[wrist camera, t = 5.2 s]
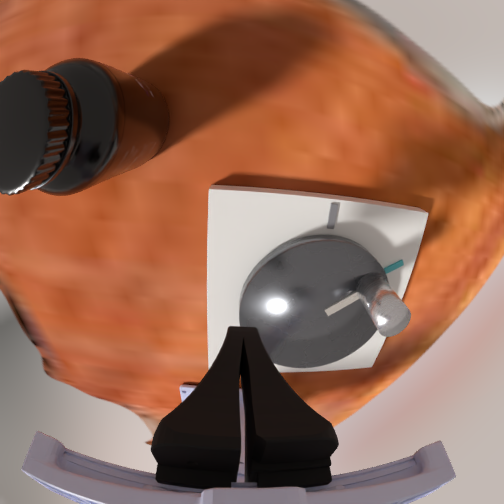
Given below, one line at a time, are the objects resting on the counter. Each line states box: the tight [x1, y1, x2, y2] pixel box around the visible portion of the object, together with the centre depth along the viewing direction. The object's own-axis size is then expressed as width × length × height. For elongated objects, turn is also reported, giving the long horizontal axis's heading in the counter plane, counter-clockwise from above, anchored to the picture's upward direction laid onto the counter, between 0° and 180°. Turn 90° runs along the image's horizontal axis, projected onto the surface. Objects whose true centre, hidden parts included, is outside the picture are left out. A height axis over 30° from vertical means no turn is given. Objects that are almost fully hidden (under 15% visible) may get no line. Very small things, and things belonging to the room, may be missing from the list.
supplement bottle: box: [0, 58, 169, 196], centre depth 12 cm, size 7×7×12 cm
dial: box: [239, 235, 411, 368], centre depth 19 cm, size 12×12×6 cm
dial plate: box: [207, 185, 429, 372], centre depth 22 cm, size 17×17×2 cm
